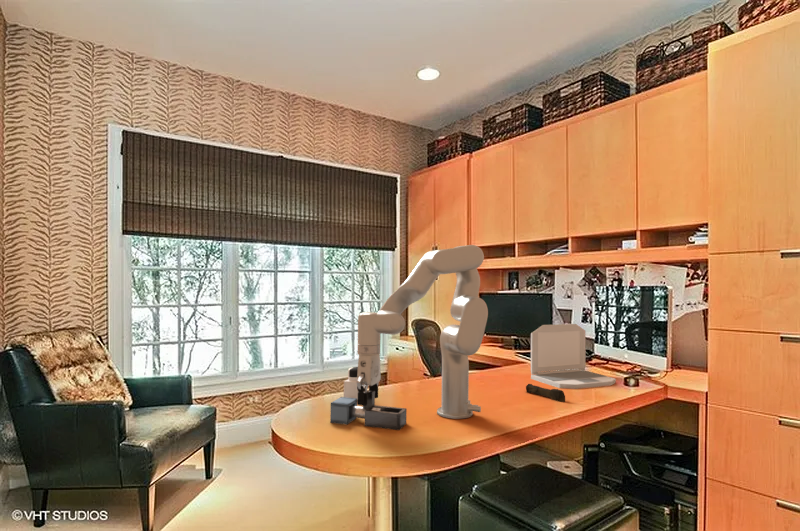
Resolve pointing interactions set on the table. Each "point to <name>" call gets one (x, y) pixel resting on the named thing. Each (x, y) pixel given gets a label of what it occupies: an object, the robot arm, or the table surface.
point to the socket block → (342, 410)
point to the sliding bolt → (364, 407)
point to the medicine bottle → (351, 383)
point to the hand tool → (546, 392)
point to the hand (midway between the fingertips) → (368, 401)
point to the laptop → (562, 358)
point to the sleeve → (386, 418)
